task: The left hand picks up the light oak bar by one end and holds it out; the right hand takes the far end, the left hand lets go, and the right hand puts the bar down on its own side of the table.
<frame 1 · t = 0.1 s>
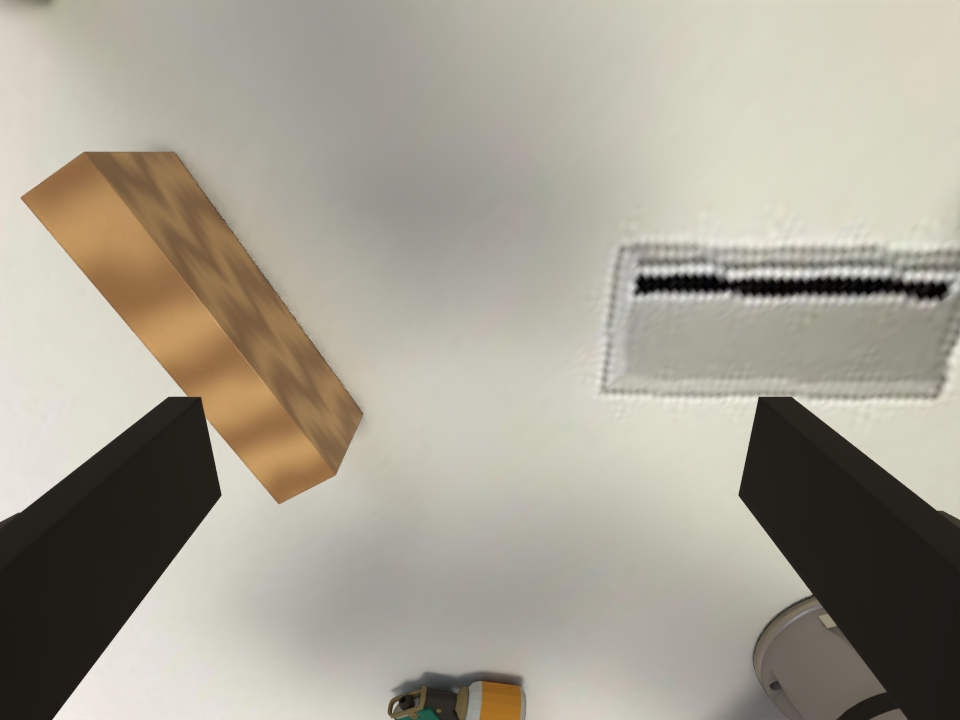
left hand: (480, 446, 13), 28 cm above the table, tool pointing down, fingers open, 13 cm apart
bar: (252, 309, 41), on the table
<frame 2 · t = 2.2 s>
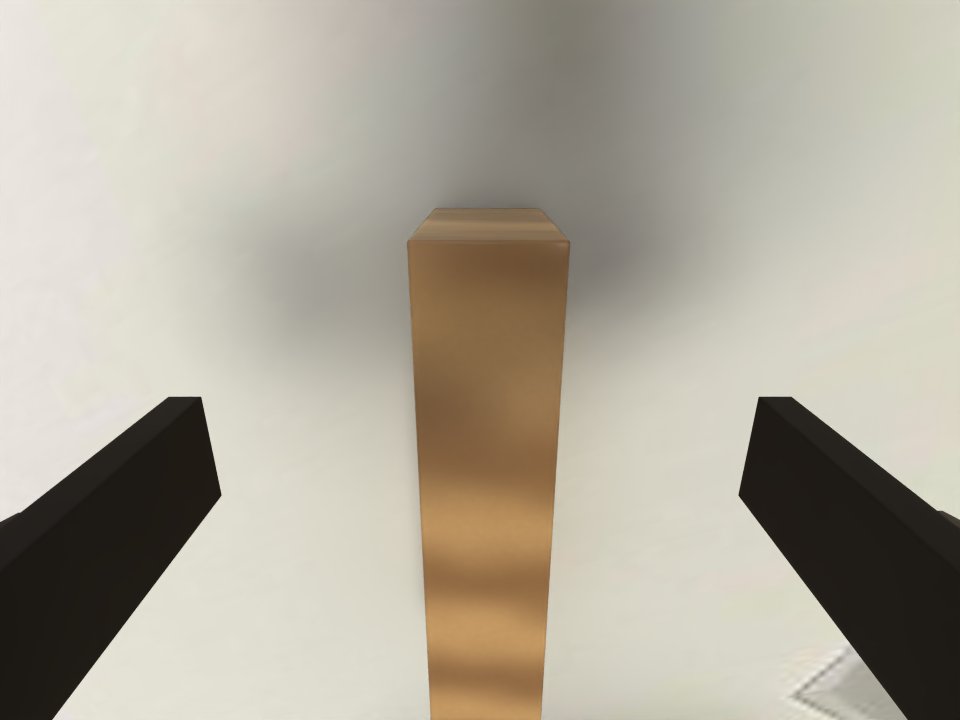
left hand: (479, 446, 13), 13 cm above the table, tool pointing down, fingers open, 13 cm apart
bar: (486, 435, 28), on the table
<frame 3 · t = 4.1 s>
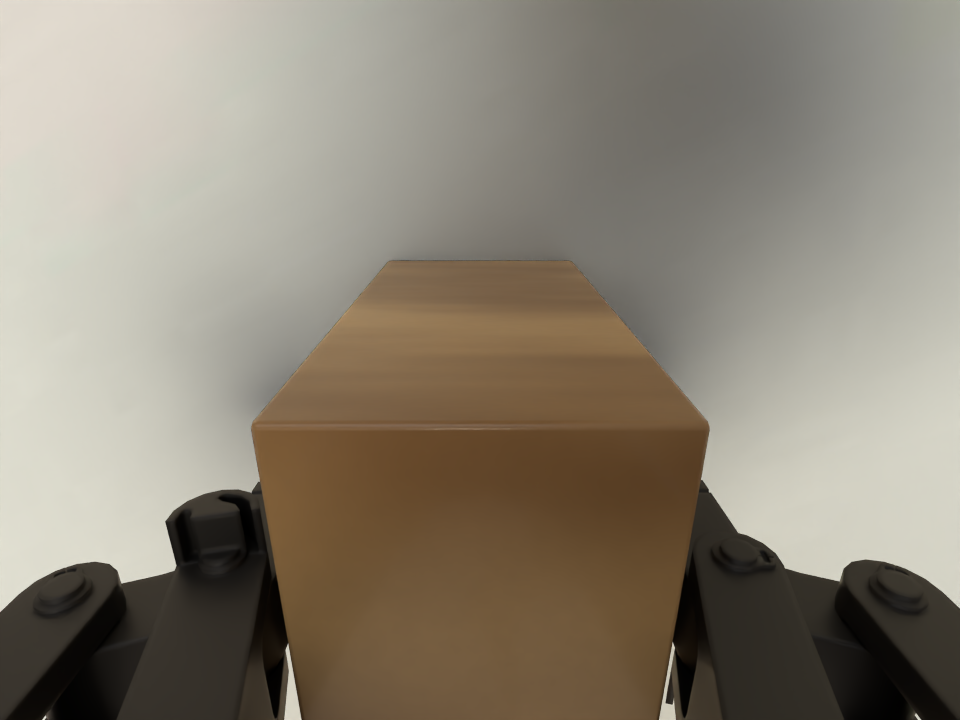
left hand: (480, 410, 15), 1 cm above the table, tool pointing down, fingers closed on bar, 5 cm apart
bar: (480, 603, 18), on the table, touching left hand
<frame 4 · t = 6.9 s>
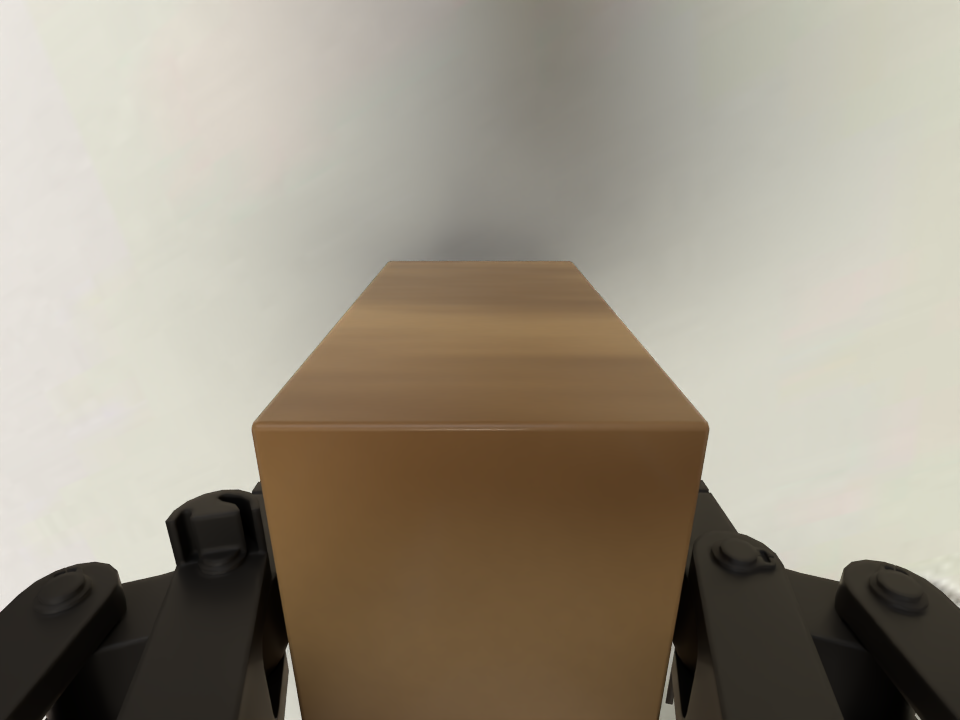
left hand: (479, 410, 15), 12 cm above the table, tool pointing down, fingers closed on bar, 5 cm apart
bar: (480, 603, 18), point 11 cm above the table, touching left hand
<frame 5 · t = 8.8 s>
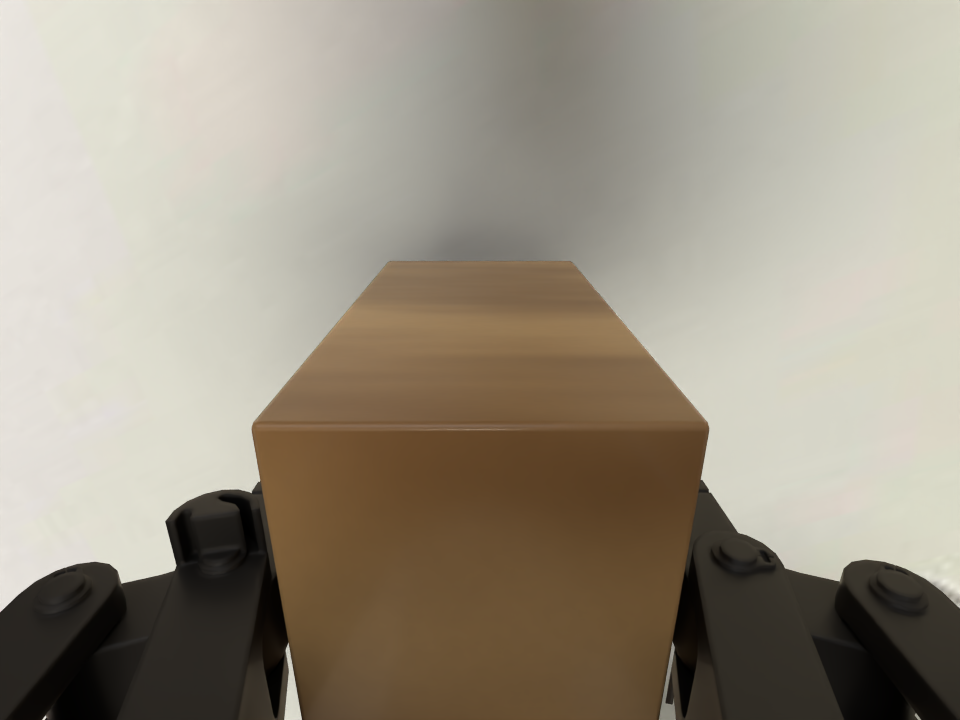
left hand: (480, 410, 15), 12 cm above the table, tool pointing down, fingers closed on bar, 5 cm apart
bar: (480, 603, 18), point 11 cm above the table, touching left hand, right hand
when the left hand's fingers open (12 cm above the table, at t = 9.6 s): bar stays where it is, held by the right hand.
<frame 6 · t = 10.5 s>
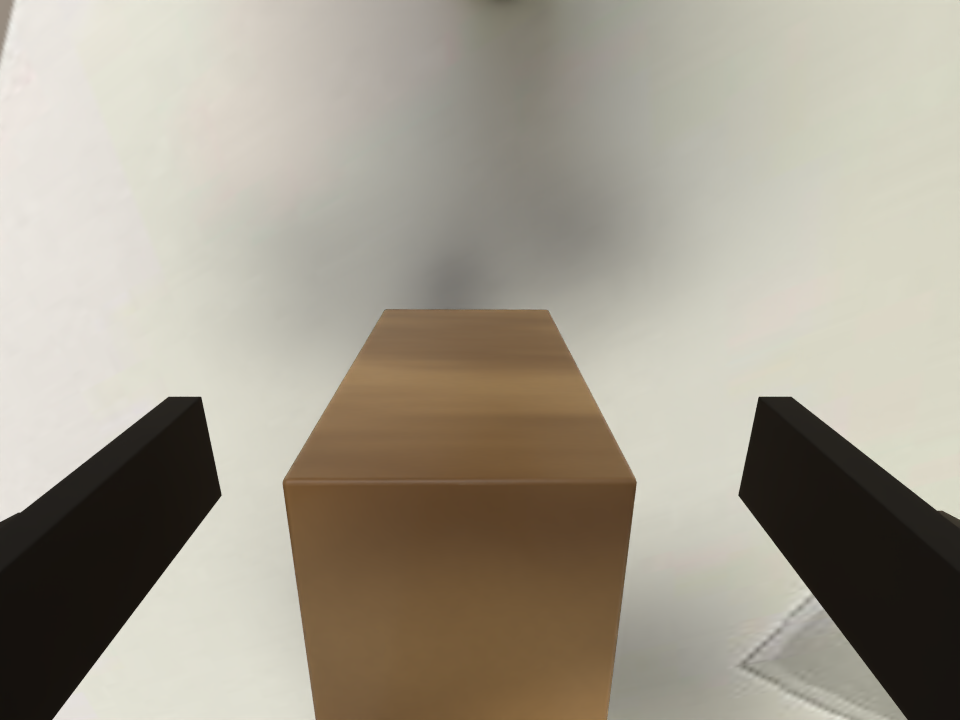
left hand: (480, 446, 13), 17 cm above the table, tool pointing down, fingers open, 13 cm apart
bar: (467, 616, 19), point 14 cm above the table, touching right hand
when the right hand's fingers open (2 cm above the table, at t = 14.0 s): bar drops 1 cm, on the table.
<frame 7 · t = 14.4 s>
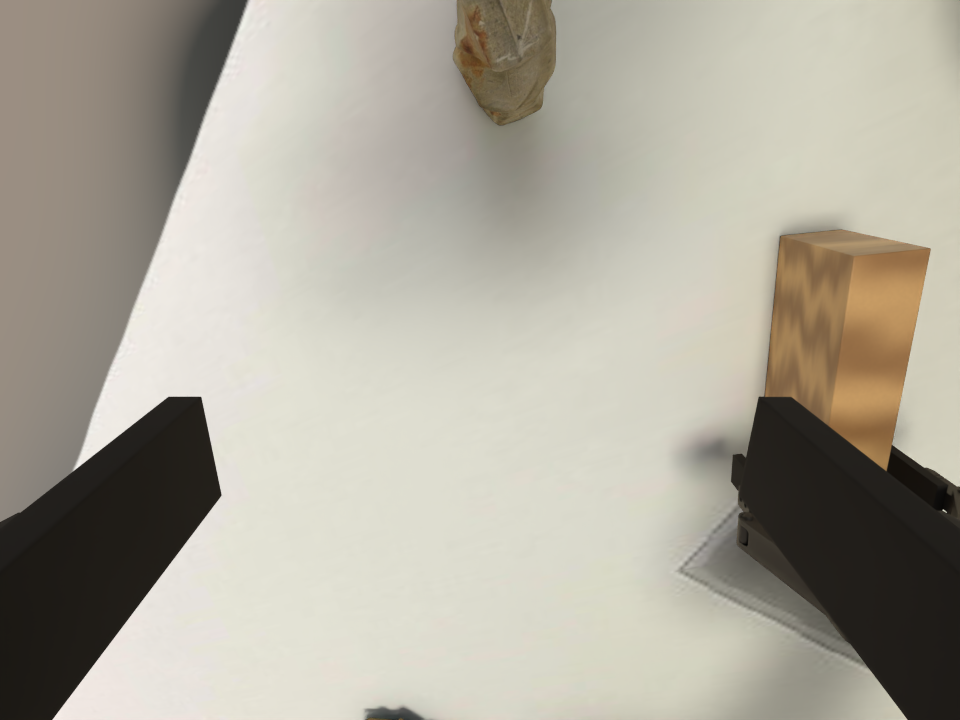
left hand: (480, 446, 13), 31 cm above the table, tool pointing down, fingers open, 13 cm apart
sculpture: (499, 69, 38), on the table
bar: (795, 367, 46), on the table
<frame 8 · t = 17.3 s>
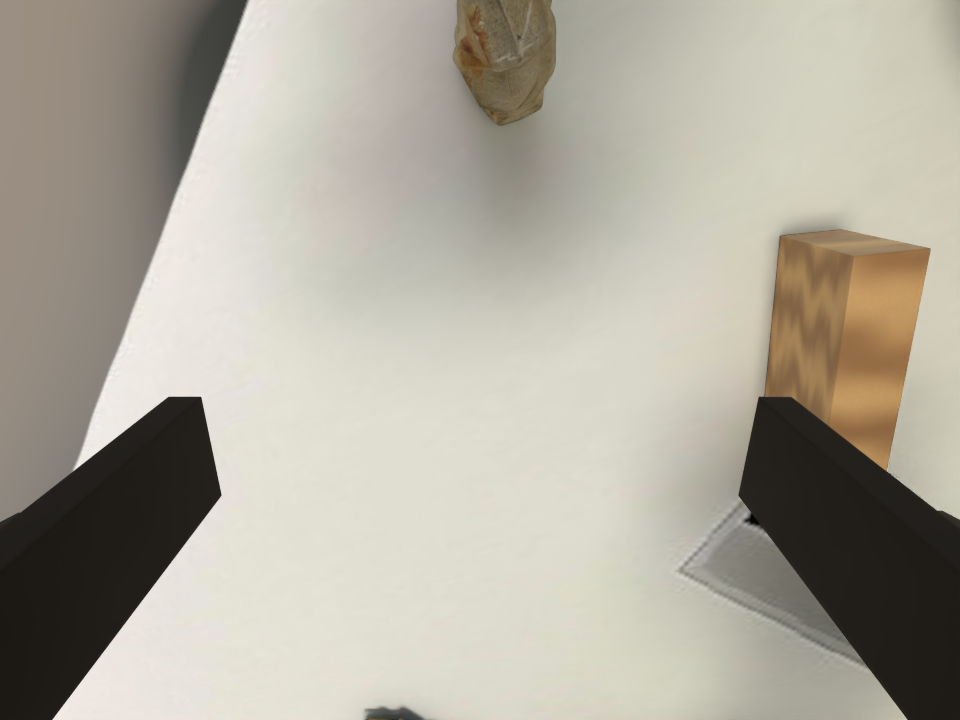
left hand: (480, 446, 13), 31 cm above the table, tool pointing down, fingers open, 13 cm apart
sculpture: (499, 69, 38), on the table
bar: (795, 367, 46), on the table
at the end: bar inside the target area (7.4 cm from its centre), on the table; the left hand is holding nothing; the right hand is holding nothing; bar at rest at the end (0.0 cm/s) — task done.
